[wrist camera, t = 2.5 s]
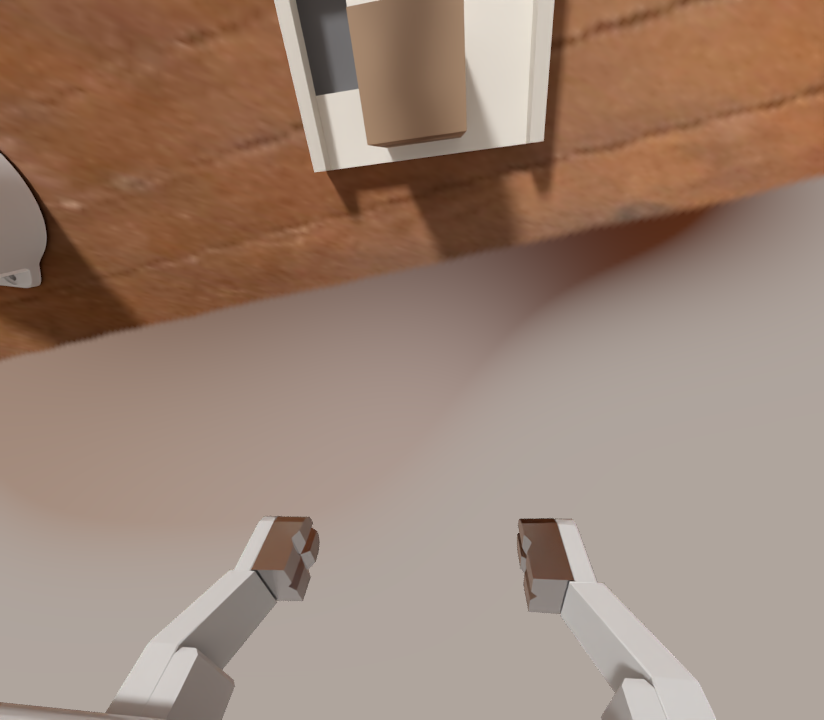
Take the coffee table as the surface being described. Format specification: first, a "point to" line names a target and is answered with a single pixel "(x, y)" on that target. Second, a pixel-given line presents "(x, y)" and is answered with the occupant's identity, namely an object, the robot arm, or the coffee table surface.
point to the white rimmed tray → (484, 66)
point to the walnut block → (410, 70)
